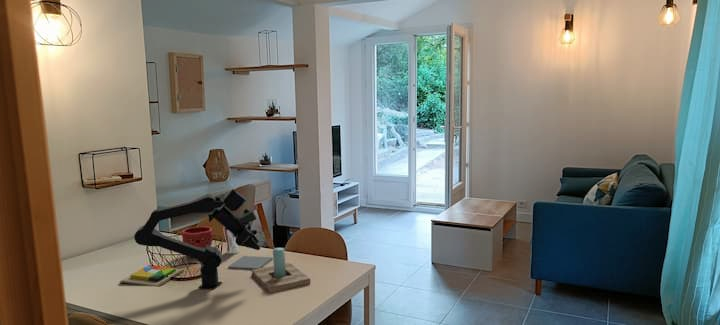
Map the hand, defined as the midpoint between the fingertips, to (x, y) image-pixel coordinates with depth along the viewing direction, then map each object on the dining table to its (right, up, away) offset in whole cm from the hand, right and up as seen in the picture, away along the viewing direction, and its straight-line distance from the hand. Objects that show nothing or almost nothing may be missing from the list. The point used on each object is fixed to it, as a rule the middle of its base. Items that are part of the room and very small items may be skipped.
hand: (258, 245), depth 195 cm
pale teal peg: (+8, -13, +2) cm, 16 cm away
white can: (-20, -9, +39) cm, 44 cm away
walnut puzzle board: (+8, -13, +2) cm, 16 cm away
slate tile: (-8, -11, +21) cm, 25 cm away
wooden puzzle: (-45, -15, +9) cm, 48 cm away
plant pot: (-35, -10, +36) cm, 51 cm away
